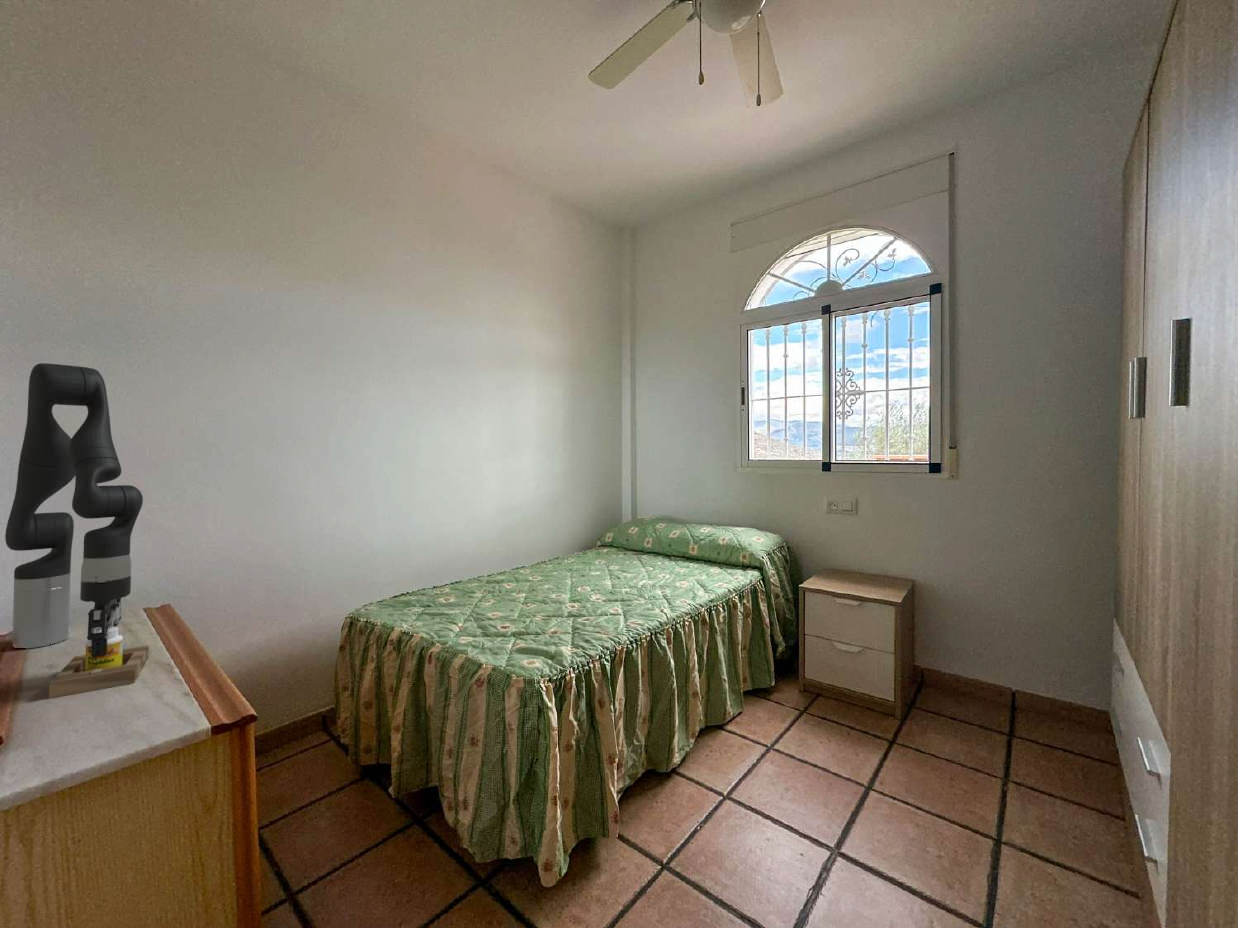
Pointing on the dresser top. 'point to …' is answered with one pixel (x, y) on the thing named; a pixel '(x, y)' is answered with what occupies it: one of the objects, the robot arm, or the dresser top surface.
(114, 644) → the supplement bottle
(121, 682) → the holder block
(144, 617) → the dresser top surface
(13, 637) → the robot arm
